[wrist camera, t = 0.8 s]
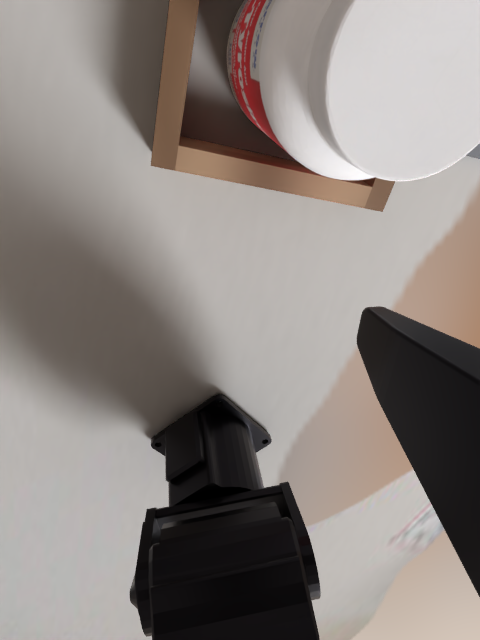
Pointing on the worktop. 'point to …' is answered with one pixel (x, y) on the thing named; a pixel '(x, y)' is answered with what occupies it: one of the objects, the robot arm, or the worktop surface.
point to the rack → (229, 160)
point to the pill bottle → (361, 82)
